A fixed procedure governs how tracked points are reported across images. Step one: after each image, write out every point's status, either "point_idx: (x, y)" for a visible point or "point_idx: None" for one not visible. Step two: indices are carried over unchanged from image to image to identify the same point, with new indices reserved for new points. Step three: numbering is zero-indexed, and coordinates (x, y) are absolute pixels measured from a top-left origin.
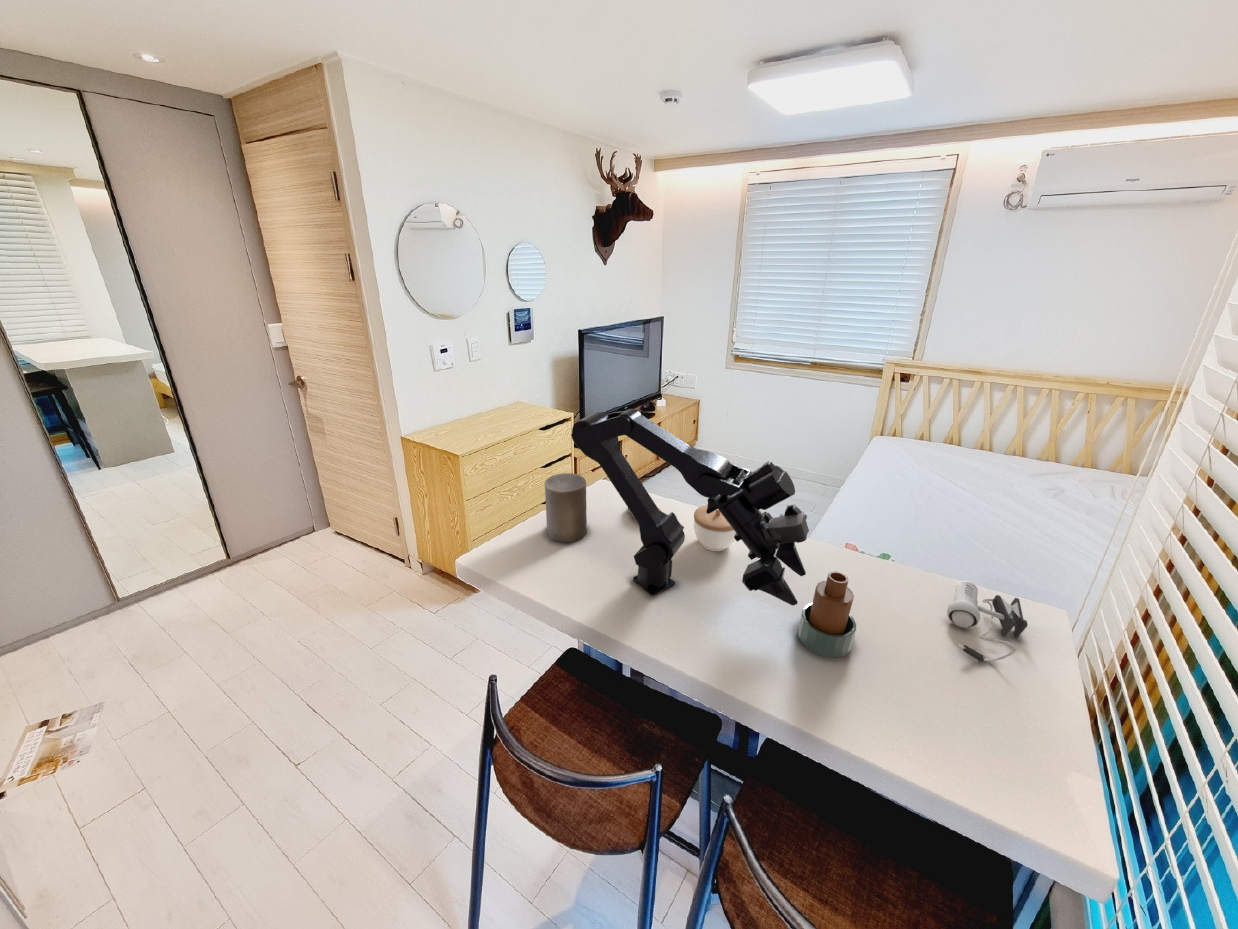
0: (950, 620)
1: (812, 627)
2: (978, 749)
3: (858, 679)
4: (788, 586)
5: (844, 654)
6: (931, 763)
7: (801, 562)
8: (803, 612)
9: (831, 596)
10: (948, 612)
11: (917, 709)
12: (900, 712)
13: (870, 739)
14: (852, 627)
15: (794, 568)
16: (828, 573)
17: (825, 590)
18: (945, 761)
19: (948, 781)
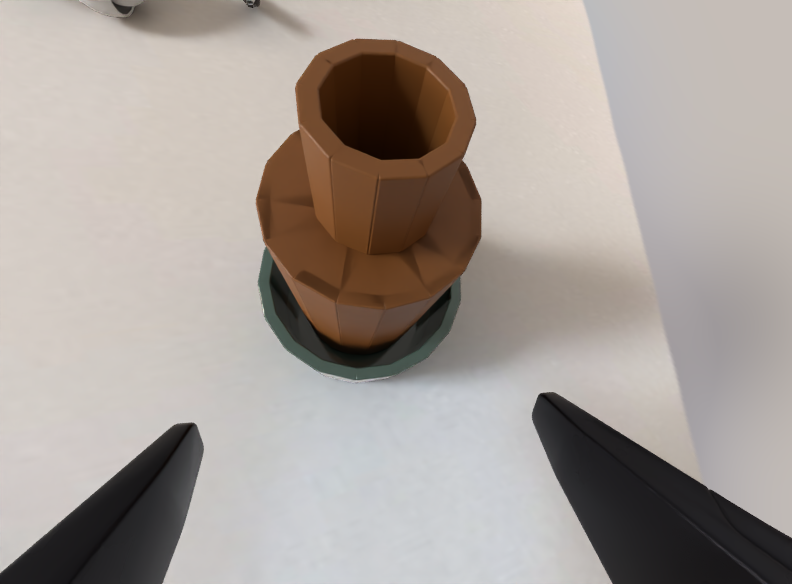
0: (121, 13)
1: (448, 320)
2: (495, 49)
3: None
4: (680, 505)
5: None
6: (570, 109)
7: (85, 508)
8: (379, 371)
9: (436, 212)
10: None
11: None
12: (497, 142)
13: (593, 188)
14: None
15: (165, 537)
16: (374, 178)
17: (405, 247)
18: (552, 91)
19: (584, 93)
